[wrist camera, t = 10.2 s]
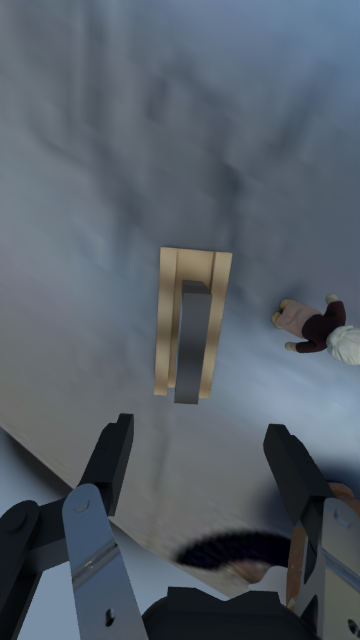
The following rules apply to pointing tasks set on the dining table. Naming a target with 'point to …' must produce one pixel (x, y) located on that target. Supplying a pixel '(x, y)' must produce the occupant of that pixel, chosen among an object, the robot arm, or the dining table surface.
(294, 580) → the jug
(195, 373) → the dark grey block
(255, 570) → the dining table surface
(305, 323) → the grandmother figurine
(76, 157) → the dining table surface
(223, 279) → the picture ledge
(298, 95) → the dining table surface
